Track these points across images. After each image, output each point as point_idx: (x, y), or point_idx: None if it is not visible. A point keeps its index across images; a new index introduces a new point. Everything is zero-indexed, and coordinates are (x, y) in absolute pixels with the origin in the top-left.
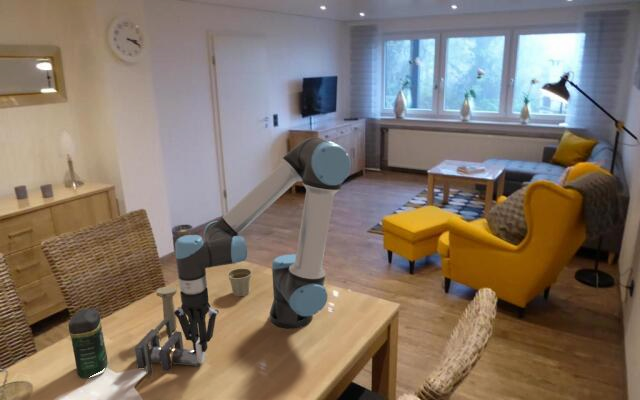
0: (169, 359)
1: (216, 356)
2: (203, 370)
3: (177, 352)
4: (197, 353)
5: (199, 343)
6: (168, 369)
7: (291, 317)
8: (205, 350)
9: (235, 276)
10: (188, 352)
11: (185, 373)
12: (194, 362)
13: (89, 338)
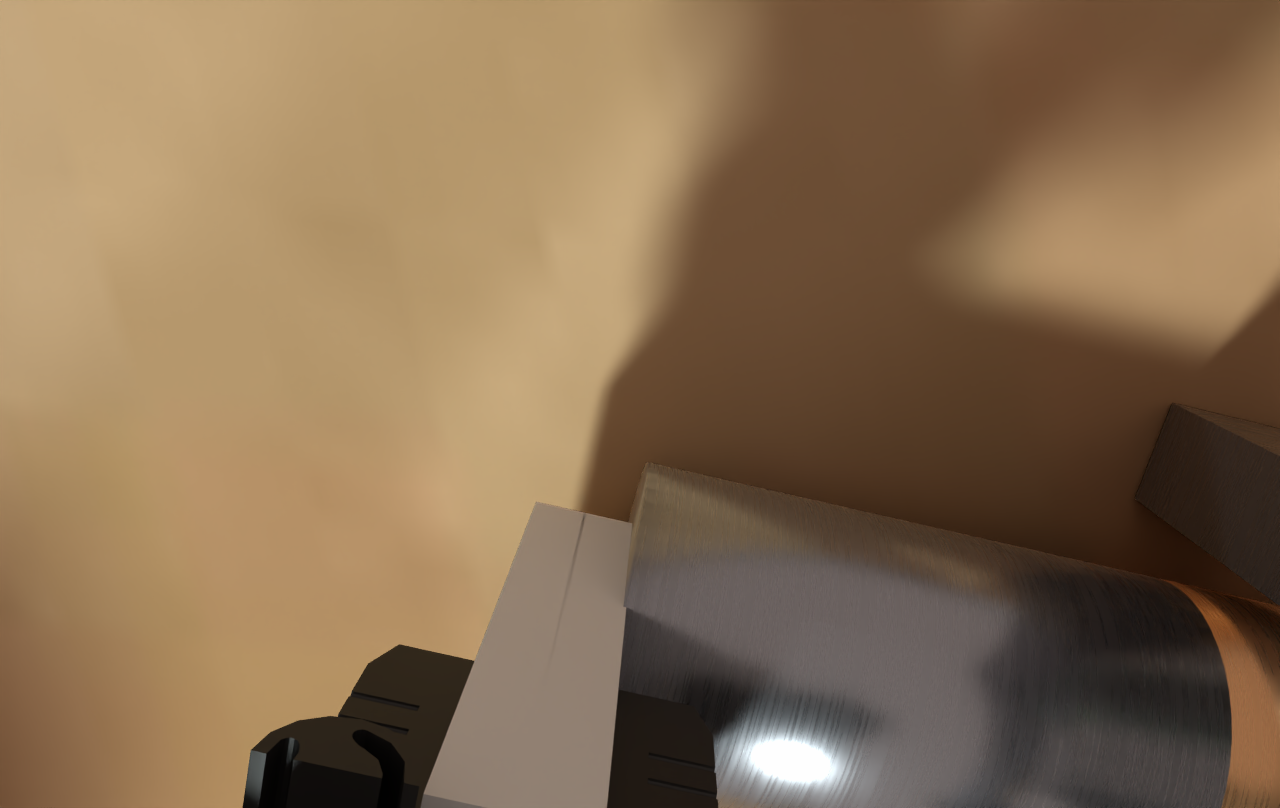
0: (1274, 557)
1: None
2: (512, 373)
3: (1126, 736)
4: (599, 623)
5: (406, 775)
6: (1199, 416)
7: None
8: (369, 665)
9: None
10: (847, 702)
11: (841, 317)
12: (679, 476)
13: None
